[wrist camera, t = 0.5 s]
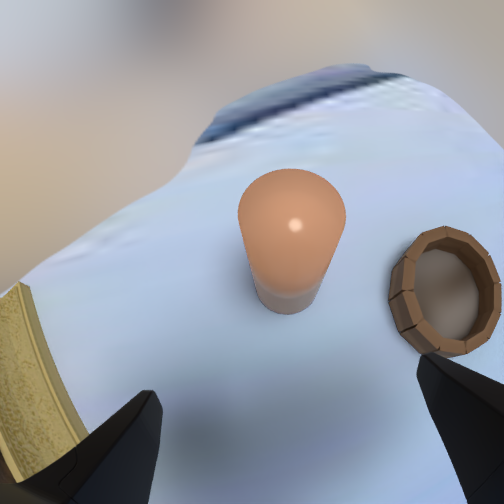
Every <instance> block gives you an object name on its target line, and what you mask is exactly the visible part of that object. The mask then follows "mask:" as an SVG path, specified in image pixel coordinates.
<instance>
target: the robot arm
mask: <svg viewBox="0 0 504 504" xmlns="http://www.w3.org/2000/svg"><path fill="white" fill-rule="evenodd" d="M416 375H417V379H418V382H419V385H420V388H421V390H422V393H423V396H424V399H425V402H426V405H427V407H428V410H429V413H430V415H431V417H432V419H433V421H434V423H435V426H436V428H437V430H438V432H439V434H440V436H441V439H442V441H443V443H444V445H445V448H446V450H447V452H448V455H449V457H450V459H451V462H452V464H453V467H454V469H455V472H456V474H457V477H458V479H459V482H460V484H461V487H462V489H463V492H464V495H465V498H466V500H467V504H504V384H501V383H499V382H497V381H495V380H493V379H490V378H488V377H486V376H484V375H482V374H480V373H477V372H475V371H473V370H471V369H469V368H466V367H464V366H462V365H460V364H458V363H456V362H453V361H451V360H449V359H447V358H445V357H443V356H441V355H438V354H436V353H434V352H428V353H424V354H422V355H421V356H420V360H419V364H418V368H417V374H416ZM162 415H163V409H162V405H161V403H160V401H159V399H158V397H157V395H156V393H155V391H153V390H142V391H141V392H140V393H138V394H137V395H136V396H135V397H134V398H133V399H131V400H130V401H129V402H128V403H127V404H125V405H124V406H123V407H122V408H121V409H120V410H118V411H117V412H116V413H115V414H114V415H112V416H111V417H110V418H109V419H108V420H106V421H105V422H104V423H103V424H102V425H100V426H99V427H98V428H97V429H96V430H94V431H93V432H92V433H91V434H89V435H88V436H87V437H86V438H85V439H83V440H82V441H81V442H80V443H78V444H77V445H76V447H73V448H72V449H71V450H70V451H68V452H67V453H66V454H64V455H63V456H62V457H60V458H59V459H58V460H56V461H55V462H53V463H52V464H50V465H49V466H47V467H46V468H44V469H42V470H41V471H39V472H37V473H36V474H34V475H32V476H31V477H29V478H27V479H26V480H24V481H21V482H18V483H0V504H148V501H149V495H150V490H151V485H152V480H153V476H154V471H155V466H156V461H157V457H158V452H159V445H160V435H161V424H162Z"/></svg>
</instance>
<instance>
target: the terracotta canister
mask: <svg viewBox="0 0 504 504" xmlns="http://www.w3.org/2000/svg"><path fill="white" fill-rule="evenodd" d="M238 221H239V225H240V229H241V233H242V237H243V241H244V245H245V249H246V253H247V256H248V260H249V264H250V268H251V272H252V276H253V280H254V283H255V287H256V291H257V294H258V297H259V299H260V300H261V302H262V303H263V304H264V305H265V306H266V307H267V308H268V309H270V310H271V311H273V312H276V313H279V314H287V315H288V314H295V313H298V312H301V311H303V310H304V309H306V308H307V307H308V306H309V305H310V304H311V303H312V302H313V300H314V299H315V297H316V294H317V292H318V290H319V288H320V285H321V283H322V281H323V278H324V276H325V274H326V271H327V269H328V267H329V264H330V262H331V259H332V257H333V255H334V252H335V250H336V247H337V245H338V242H339V240H340V237H341V235H342V232H343V230H344V226H345V221H346V212H345V207H344V203H343V201H342V198H341V196H340V195H339V193H338V192H337V190H336V189H335V188H334V187H333V186H332V185H331V184H330V183H329V182H328V181H327V180H325V179H324V178H322V177H321V176H319V175H317V174H314V173H312V172H309V171H305V170H300V169H281V170H276V171H272V172H269V173H267V174H265V175H263V176H261V177H259V178H258V179H256V180H255V181H254V182H253V183H251V184H250V185H249V187H248V188H247V189H246V190H245V192H244V193H243V195H242V197H241V200H240V203H239V207H238Z"/></svg>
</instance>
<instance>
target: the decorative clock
mask: <svg viewBox="0 0 504 504" xmlns="http://www.w3.org/2000/svg"><path fill="white" fill-rule="evenodd" d="M88 435H89V433H88V431H87V430H86V428H85V426H84V424H83V422H82V421H81V419H80V417H79V415H78V413H77V411H76V409H75V407H74V405H73V403H72V401H71V399H70V397H69V395H68V393H67V391H66V389H65V386H64V384H63V382H62V380H61V378H60V375H59V373H58V371H57V368H56V366H55V363H54V361H53V358H52V356H51V353H50V350H49V348H48V345H47V342H46V339H45V337H44V334H43V331H42V328H41V325H40V322H39V318H38V315H37V312H36V308H35V305H34V301H33V298H32V294H31V290H30V287H29V286H27V285H25V284H23V283H21V282H18V283H17V284H16V285H15V286H14V287H13V288H12V289H11V290H10V291H9V292H8V293H7V294H6V295H5V296H3V297H2V298H0V483H18V482H21V481H24V480H26V479H27V478H29V477H31V476H32V475H34V474H36V473H37V472H39V471H41V470H42V469H44V468H46V467H47V466H49V465H50V464H52V463H53V462H55V461H56V460H58V459H59V458H60V457H62V456H63V455H64V454H66V453H67V452H68V451H70V450H71V449H72V448H73V447H76V445H77V444H78V443H80V442H81V441H82V440H83V439H85V438H86V437H87V436H88Z"/></svg>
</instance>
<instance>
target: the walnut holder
mask: <svg viewBox="0 0 504 504" xmlns="http://www.w3.org/2000/svg"><path fill="white" fill-rule="evenodd" d="M488 254H489V253H488V252H487V251H486V250H485V249H484V248H483V247H482V245H481V244H480V243H479V242H478V241H477V240H476V239H475V238H474V237H472V236H471V235H469V233H466V232H463V231H460V230H457V229H454V228H451V227H448V226H445V227H444V226H442V227H438V228H435V229H432V230H429V231H426V232H422V233H421V234H420V235H419V236H418V237H417V239H416V240H415V241H414V242H413V243H412V244H411V246H410V247H409V248H408V249H407V250H406V252H405V253H404V254H403V256H402V257H401V259H400V260H399V261H398V263H397V264H396V265H395V267H394V268H393V270H392V274H391V283H390V291H389V298H388V300H390V302H389V305H390V308H391V311H392V314H393V317H394V320H395V323H396V326H397V329H398V332H401V333H400V335H401V336H402V337H403V338H404V339H405V340H407V341H408V342H409V343H410V344H411V345H412V346H413V347H414V348H415V349H416V350H417V351H418V352H419V353H420V354H421V353H422V354H424V353H428V352H434V353H436V354H438V355H441V356H443V357H445V358H450V357H455V356H460V355H465V354H468V353H470V352H471V351H473V350H474V349H476V348H478V347H479V346H481V345H482V344H484V343H485V342H487V341H488V339H490V337H491V335H492V333H493V331H494V329H495V327H496V324H497V322H498V320H499V318H500V315H501V314H500V313H501V301H502V297H501V283H499V282H501V281H500V278H499V275H498V273H497V270H496V268H495V265H494V263H493V261H492V258H491V256H490V255H489V256H488Z"/></svg>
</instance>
